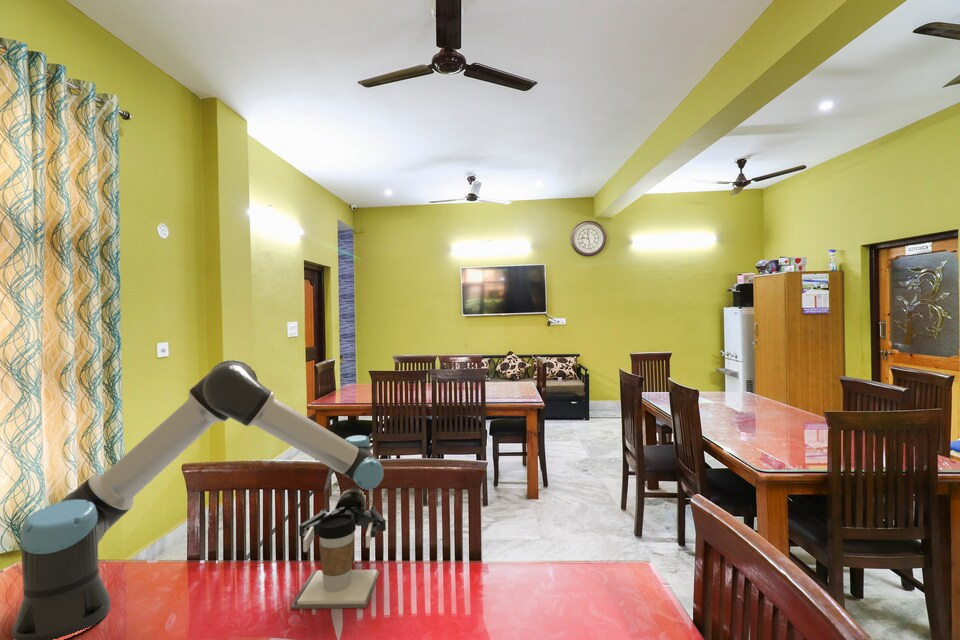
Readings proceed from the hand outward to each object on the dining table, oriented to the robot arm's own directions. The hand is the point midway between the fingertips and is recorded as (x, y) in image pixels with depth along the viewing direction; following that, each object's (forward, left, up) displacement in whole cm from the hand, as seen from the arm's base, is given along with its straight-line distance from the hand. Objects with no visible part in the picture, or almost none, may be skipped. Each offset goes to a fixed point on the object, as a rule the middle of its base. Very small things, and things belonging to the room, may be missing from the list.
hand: (336, 543), depth 106 cm
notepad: (-1, +1, -11) cm, 11 cm away
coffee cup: (-1, 0, -10) cm, 10 cm away
